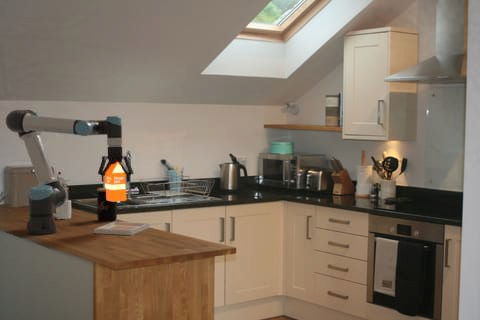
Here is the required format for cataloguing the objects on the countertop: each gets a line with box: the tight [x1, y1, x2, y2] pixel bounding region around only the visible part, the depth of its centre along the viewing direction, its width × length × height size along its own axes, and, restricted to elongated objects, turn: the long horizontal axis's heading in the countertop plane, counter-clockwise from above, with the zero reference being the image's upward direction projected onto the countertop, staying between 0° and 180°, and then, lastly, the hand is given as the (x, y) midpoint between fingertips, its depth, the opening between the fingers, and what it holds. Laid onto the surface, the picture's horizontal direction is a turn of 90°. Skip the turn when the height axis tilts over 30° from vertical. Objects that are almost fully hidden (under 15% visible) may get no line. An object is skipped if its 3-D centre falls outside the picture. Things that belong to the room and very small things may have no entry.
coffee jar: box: [96, 187, 118, 222], centre depth 392 cm, size 11×11×18 cm
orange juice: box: [105, 162, 127, 202], centre depth 358 cm, size 8×9×20 cm
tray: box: [94, 221, 150, 236], centre depth 360 cm, size 24×20×2 cm
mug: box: [53, 199, 72, 220], centre depth 397 cm, size 12×8×10 cm
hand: (116, 188), depth 358 cm, fingers closed on orange juice, 11 cm apart
